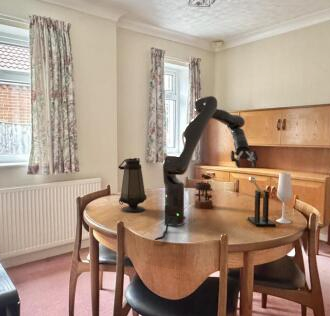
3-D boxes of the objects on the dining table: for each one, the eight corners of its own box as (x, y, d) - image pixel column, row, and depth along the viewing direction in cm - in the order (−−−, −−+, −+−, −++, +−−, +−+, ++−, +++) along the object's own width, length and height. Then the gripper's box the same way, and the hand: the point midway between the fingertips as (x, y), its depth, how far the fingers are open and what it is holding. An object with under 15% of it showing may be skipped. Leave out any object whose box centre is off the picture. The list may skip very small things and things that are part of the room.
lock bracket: (247, 219, 150) (248, 188, 149) (265, 219, 150) (266, 188, 148) (256, 226, 138) (257, 193, 137) (275, 226, 138) (276, 193, 137)
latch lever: (247, 181, 157) (248, 175, 156) (253, 181, 157) (254, 175, 156) (258, 198, 142) (260, 193, 141) (265, 198, 142) (266, 193, 141)
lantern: (128, 215, 159) (127, 159, 157) (112, 209, 171) (111, 158, 169) (153, 209, 171) (153, 157, 168) (137, 204, 183) (137, 156, 180)
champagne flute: (272, 220, 148) (274, 172, 146) (283, 218, 150) (284, 172, 148) (283, 224, 142) (285, 174, 140) (294, 222, 144) (296, 173, 142)
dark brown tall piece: (204, 203, 186) (206, 171, 183) (217, 207, 177) (220, 175, 174) (186, 206, 178) (188, 173, 175) (199, 211, 169) (202, 177, 166)
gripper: (230, 139, 169) (235, 162, 159) (255, 140, 168) (261, 162, 159) (227, 148, 174) (231, 170, 165) (251, 148, 174) (257, 171, 164)
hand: (246, 166), depth 162 cm, fingers open, 8 cm apart
